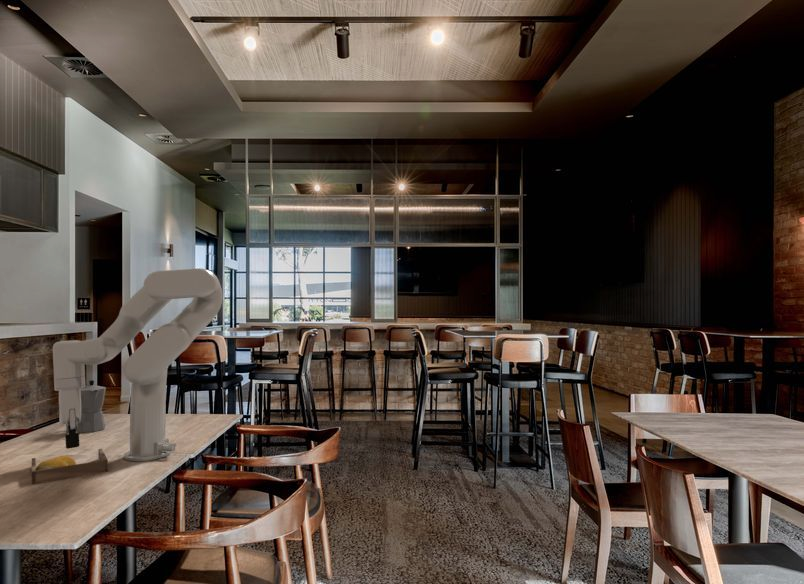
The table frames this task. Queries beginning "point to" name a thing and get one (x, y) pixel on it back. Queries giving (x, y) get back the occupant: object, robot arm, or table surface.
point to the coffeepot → (92, 408)
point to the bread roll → (56, 463)
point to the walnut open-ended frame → (70, 470)
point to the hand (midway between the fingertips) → (72, 447)
